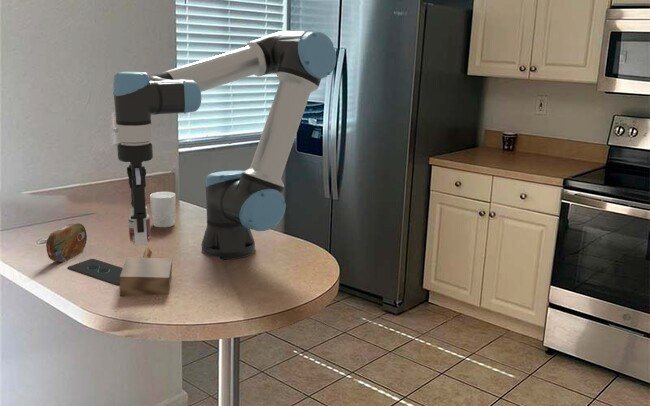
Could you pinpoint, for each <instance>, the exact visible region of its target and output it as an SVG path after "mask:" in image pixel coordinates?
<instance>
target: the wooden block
mask: <svg viewBox="0 0 650 406" xmlns="http://www.w3.org/2000/svg"><path fill="white" fill-rule="evenodd" d="M122 268H123V269H122V272H121V275H120V285H119V296H120V297H129V296H130V297H133V296H134V297H137V296H152V295H155V296H156V295H169V293H170V288H171V282H172V276H173V274H172V272H173V258H172V257H171V258H164V257H151V258H143V257H132V256H131V257H130V256H129V257H128V256H126V257H125V260H124V263H123V266H122Z"/></svg>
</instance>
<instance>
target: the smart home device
mask: <svg viewBox="0 0 650 406" xmlns="http://www.w3.org/2000/svg"><path fill="white" fill-rule="evenodd" d="M67 269H68V270H71V271H73V272H76V273H78V274H79V273H80V274H81V275H86V276H89V277H91V278H94V279H97V280H100V281H103V282H106V283H109V284H112V285H115V286H120V275H121V272H122V269H123V266H122V267H121V266H118V265H115V264H111V263H108V262H105V261H103V260H99V259H96V258H89V259H87V260H84V261H80V262H77V263H74V264H72V265H69V266H67Z"/></svg>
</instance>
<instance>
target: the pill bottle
mask: <svg viewBox="0 0 650 406" xmlns="http://www.w3.org/2000/svg"><path fill="white" fill-rule="evenodd" d="M145 207H146V214H147V216H146V229H147V244H149V243H151V241H152V239H151V238H152V236H151V219H150V218H151V217H150V215H149V214H148V213H149V210H148V206H147V205H145ZM128 209H129V215H128V218H127V219H128V221H127V222H128V234H129V235H128V236H129V243H130V244H131V245H134V246H135V237H134V221H133V219H131V216H133V215H134V208H133V206H132V205H131V206H130V207H129V208H128Z"/></svg>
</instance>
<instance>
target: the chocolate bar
mask: <svg viewBox="0 0 650 406" xmlns="http://www.w3.org/2000/svg"><path fill="white" fill-rule="evenodd" d="M152 253H153V251H152V250H151V249H150V247H149V246H147V247H146V249H145V250H144V253H143V256H142V258H152Z"/></svg>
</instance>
